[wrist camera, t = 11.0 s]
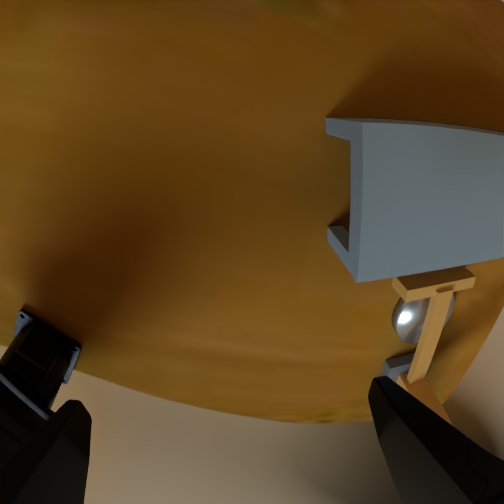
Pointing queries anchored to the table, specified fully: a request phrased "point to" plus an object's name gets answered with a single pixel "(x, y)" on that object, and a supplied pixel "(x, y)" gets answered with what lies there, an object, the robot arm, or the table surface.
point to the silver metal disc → (413, 318)
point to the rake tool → (426, 329)
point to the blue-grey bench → (419, 197)
